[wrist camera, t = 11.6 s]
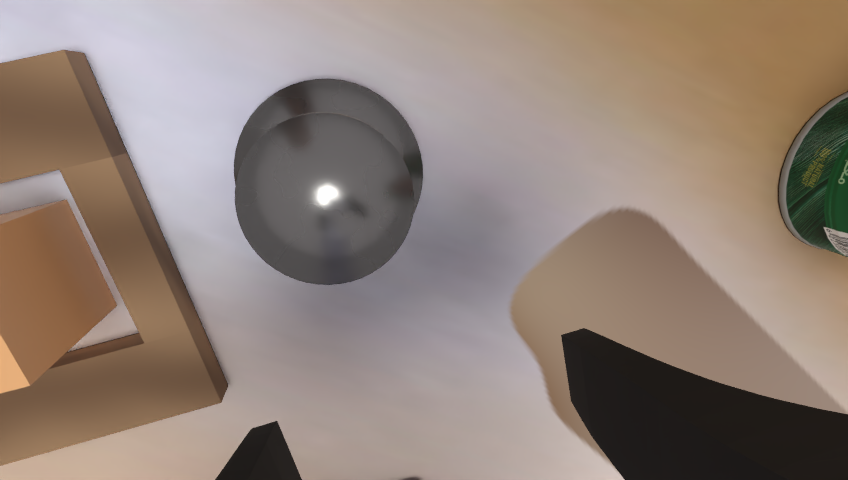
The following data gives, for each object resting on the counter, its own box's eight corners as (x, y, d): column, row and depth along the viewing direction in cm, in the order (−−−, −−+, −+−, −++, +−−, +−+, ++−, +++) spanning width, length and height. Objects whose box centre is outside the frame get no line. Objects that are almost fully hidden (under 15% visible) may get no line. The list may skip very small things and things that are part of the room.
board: (228, 385, 20) (221, 402, 19) (17, 445, 20) (-3, 466, 19) (83, 53, 16) (63, 49, 15) (-199, 113, 15) (-243, 115, 14)
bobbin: (434, 231, 20) (467, 280, 15) (273, 273, 19) (247, 341, 14) (396, 61, 18) (419, 46, 12) (212, 103, 17) (153, 107, 12)
